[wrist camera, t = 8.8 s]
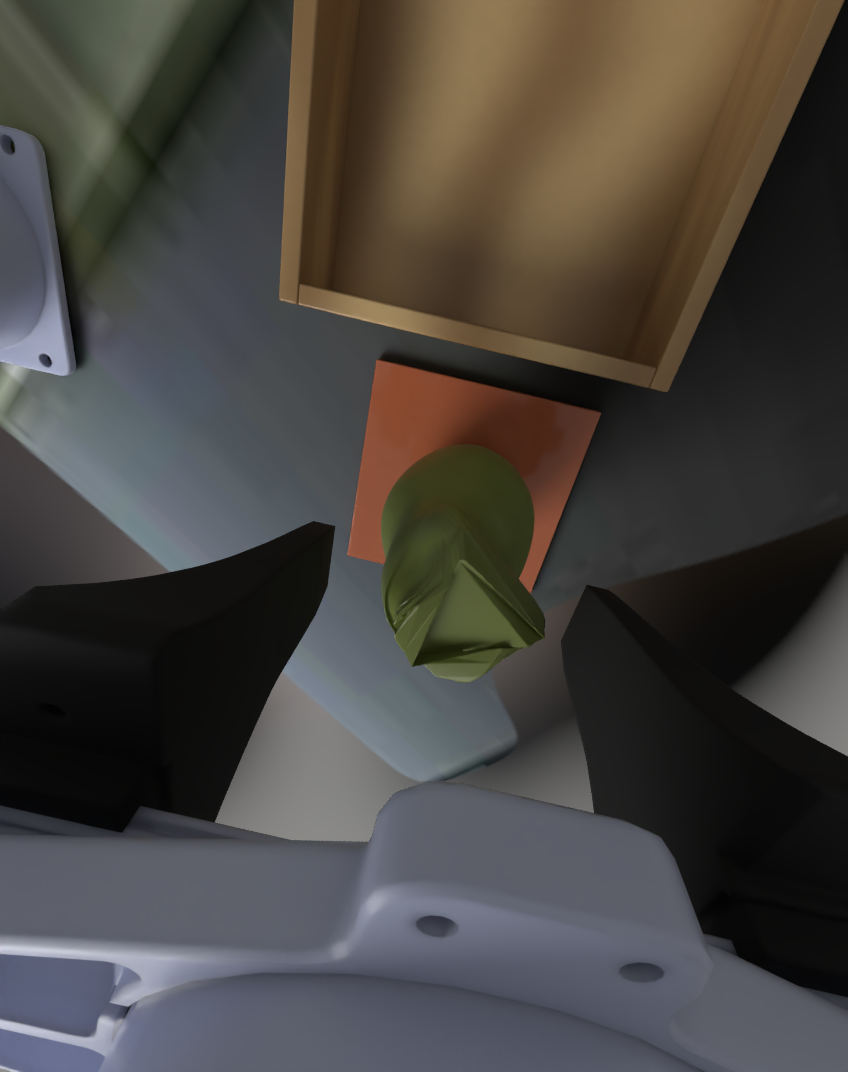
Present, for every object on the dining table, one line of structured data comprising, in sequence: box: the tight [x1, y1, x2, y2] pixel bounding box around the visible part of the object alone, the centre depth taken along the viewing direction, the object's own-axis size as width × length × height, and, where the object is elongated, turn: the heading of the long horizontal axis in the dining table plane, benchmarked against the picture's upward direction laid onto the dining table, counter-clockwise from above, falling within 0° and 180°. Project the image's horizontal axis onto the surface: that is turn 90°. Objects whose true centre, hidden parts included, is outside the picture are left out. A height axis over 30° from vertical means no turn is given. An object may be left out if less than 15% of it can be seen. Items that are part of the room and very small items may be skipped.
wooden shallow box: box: [279, 0, 845, 392], centre depth 12 cm, size 12×14×4 cm
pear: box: [381, 444, 545, 683], centre depth 15 cm, size 6×5×10 cm
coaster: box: [347, 359, 601, 594], centre depth 19 cm, size 9×9×1 cm
